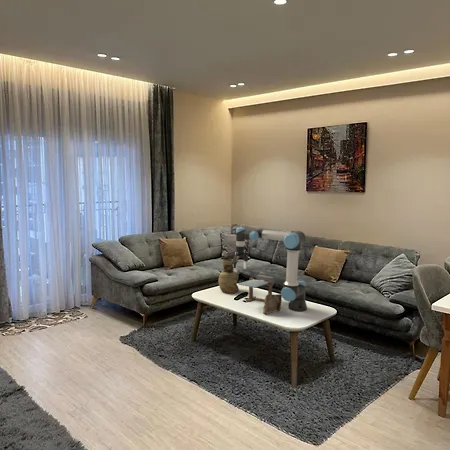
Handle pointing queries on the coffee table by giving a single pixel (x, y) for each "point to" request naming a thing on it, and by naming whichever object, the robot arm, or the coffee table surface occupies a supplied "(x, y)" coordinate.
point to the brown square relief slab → (272, 303)
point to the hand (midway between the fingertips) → (240, 270)
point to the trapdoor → (258, 281)
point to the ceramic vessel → (228, 277)
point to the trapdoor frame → (258, 298)
